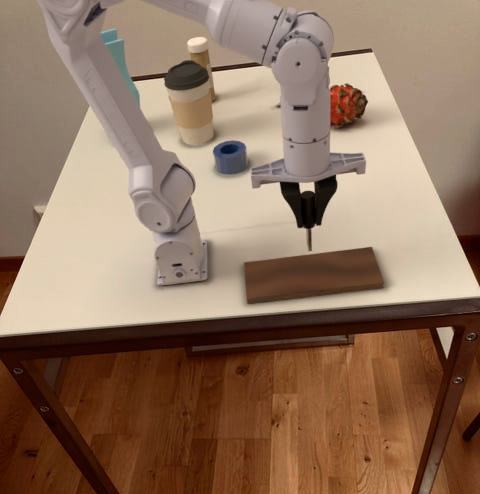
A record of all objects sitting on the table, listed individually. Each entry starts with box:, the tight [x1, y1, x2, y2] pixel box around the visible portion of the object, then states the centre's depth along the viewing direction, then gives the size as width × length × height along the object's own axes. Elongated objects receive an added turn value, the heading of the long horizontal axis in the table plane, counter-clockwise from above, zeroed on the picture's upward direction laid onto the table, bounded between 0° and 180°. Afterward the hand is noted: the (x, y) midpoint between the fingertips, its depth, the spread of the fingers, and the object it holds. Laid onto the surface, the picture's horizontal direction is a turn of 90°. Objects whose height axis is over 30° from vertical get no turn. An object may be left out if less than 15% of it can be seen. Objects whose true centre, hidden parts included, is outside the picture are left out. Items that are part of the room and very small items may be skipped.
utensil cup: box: [212, 139, 249, 175], centre depth 99 cm, size 6×6×4 cm
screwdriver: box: [301, 190, 316, 252], centre depth 71 cm, size 2×2×9 cm
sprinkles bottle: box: [186, 36, 217, 103], centre depth 117 cm, size 5×5×14 cm
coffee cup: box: [163, 59, 215, 145], centre depth 105 cm, size 9×9×15 cm
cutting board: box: [243, 246, 385, 305], centre depth 77 cm, size 8×20×1 cm, turn 93°
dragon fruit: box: [329, 82, 369, 129], centre depth 105 cm, size 8×8×12 cm
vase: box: [101, 28, 141, 108], centre depth 109 cm, size 8×8×20 cm
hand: (308, 222), depth 71 cm, fingers closed on screwdriver, 2 cm apart
